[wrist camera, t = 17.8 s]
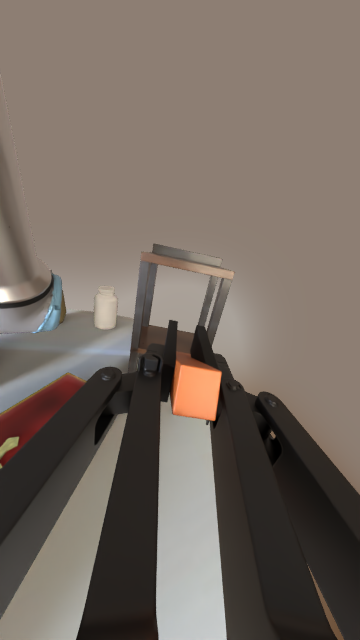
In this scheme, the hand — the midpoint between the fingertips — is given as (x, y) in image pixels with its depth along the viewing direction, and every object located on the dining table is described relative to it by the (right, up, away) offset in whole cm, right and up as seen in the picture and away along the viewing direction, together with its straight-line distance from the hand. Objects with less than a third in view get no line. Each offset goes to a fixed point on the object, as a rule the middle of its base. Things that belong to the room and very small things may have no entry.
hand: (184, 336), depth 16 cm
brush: (-1, -6, 0) cm, 6 cm away
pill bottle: (-29, -1, +49) cm, 57 cm away
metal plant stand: (-5, -13, +31) cm, 34 cm away
